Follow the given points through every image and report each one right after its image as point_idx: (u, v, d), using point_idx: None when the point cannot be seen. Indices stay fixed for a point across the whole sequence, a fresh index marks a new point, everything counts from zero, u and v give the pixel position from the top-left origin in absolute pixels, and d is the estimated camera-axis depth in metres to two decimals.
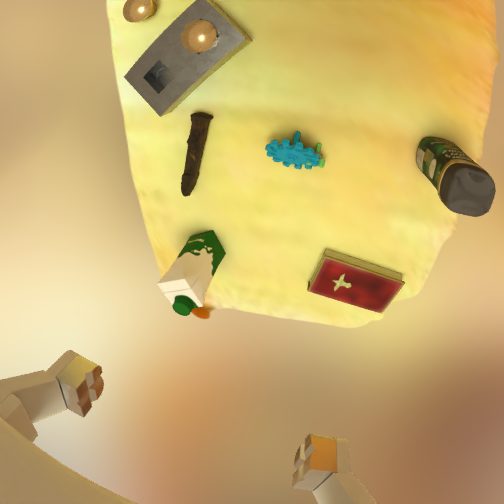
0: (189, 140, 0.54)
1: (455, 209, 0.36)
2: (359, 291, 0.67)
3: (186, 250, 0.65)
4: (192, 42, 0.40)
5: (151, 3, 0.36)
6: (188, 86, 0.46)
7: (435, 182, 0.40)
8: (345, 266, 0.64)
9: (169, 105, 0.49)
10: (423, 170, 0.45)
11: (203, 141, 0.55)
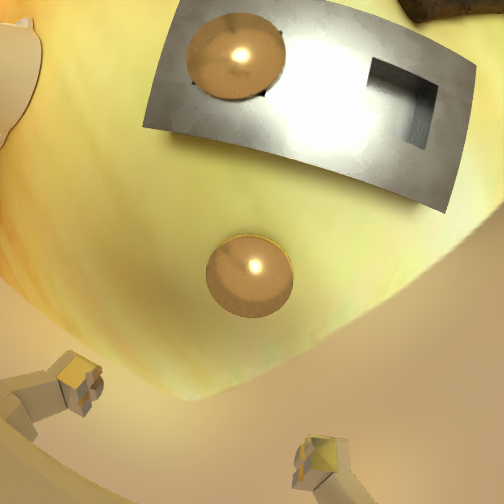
0: (465, 2, 0.12)
1: None
2: None
3: None
4: (257, 53, 0.15)
5: (221, 244, 0.21)
6: (372, 17, 0.14)
7: None
8: None
9: (442, 48, 0.13)
10: None
11: None
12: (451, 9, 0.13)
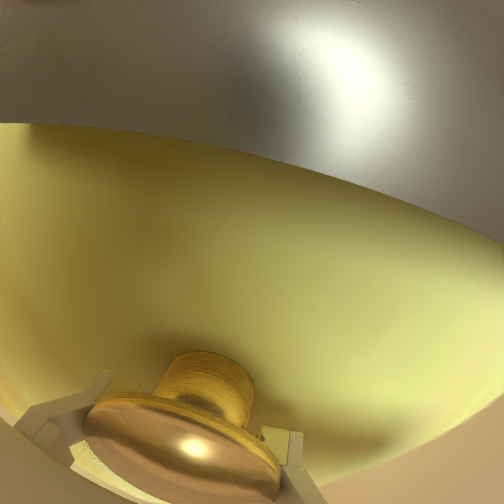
0: None
1: None
2: None
3: None
4: None
5: (96, 406, 0.07)
6: None
7: None
8: None
9: None
10: None
11: None
12: None
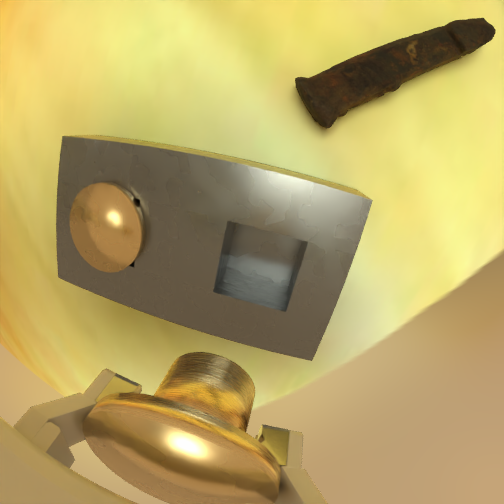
0: (386, 81, 0.15)
1: None
2: None
3: None
4: (118, 231, 0.18)
5: (97, 406, 0.07)
6: (230, 166, 0.17)
7: None
8: None
9: (321, 189, 0.16)
10: None
11: None
12: (366, 98, 0.16)
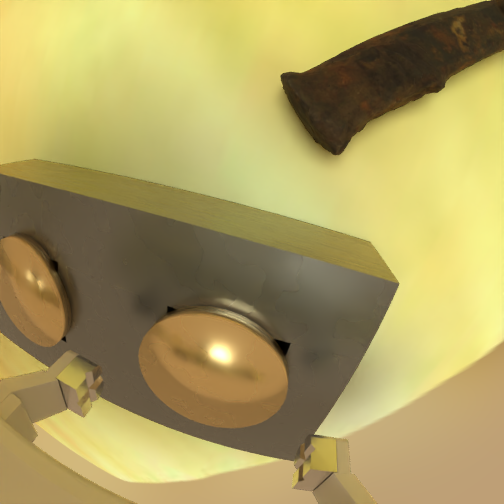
0: (428, 77, 0.08)
1: None
2: None
3: None
4: (38, 302, 0.12)
5: (158, 322, 0.11)
6: (165, 224, 0.10)
7: None
8: None
9: (316, 266, 0.10)
10: None
11: None
12: (397, 104, 0.10)
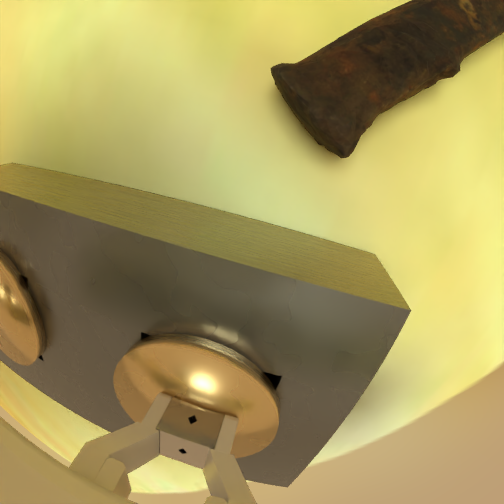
0: (442, 59, 0.07)
1: None
2: None
3: None
4: (11, 320, 0.10)
5: (131, 349, 0.09)
6: (133, 240, 0.08)
7: None
8: None
9: (313, 292, 0.08)
10: None
11: None
12: (409, 92, 0.08)
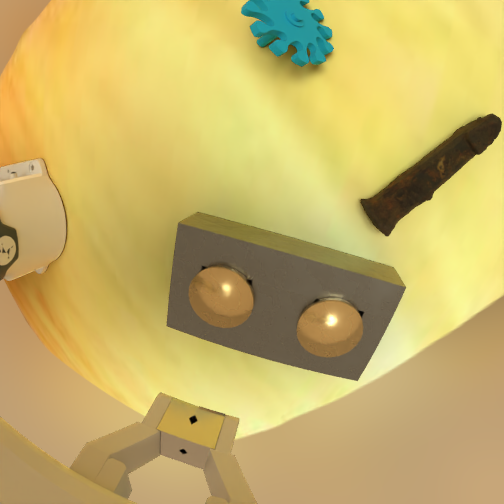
0: (424, 197, 0.23)
1: None
2: None
3: None
4: (235, 302, 0.28)
5: (311, 305, 0.27)
6: (320, 265, 0.26)
7: None
8: None
9: (376, 281, 0.25)
10: None
11: (405, 174, 0.24)
12: None
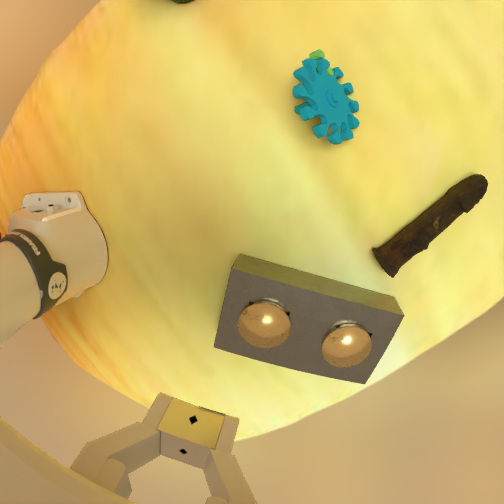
0: (422, 248, 0.31)
1: None
2: None
3: None
4: (276, 329, 0.35)
5: (334, 330, 0.34)
6: (342, 301, 0.33)
7: None
8: None
9: (382, 311, 0.33)
10: None
11: (408, 230, 0.32)
12: None
